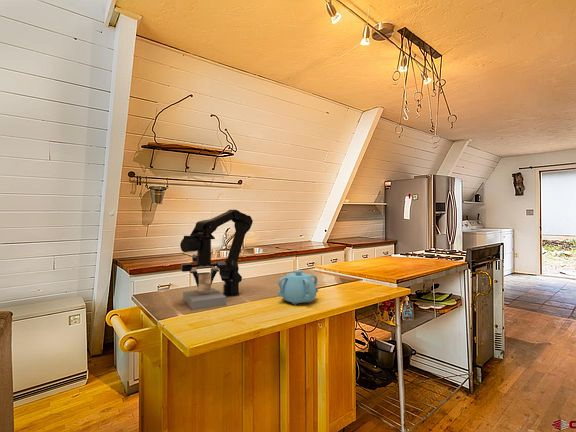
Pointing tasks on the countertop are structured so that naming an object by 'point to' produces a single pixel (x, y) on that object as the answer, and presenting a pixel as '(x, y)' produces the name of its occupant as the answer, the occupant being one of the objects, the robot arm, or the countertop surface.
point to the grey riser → (204, 299)
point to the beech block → (204, 281)
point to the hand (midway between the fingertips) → (204, 286)
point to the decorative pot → (298, 287)
